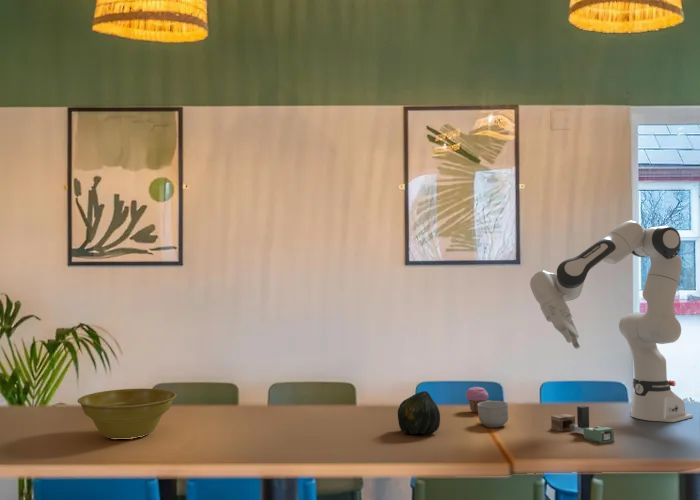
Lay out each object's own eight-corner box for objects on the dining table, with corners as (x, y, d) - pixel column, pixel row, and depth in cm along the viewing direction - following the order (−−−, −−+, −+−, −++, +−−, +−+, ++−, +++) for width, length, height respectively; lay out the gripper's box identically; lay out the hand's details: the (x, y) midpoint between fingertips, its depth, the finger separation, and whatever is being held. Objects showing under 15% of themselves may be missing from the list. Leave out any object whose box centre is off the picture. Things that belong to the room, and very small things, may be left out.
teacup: (509, 429, 222) (508, 406, 222) (477, 428, 224) (477, 405, 224) (507, 420, 235) (507, 399, 236) (477, 419, 237) (477, 398, 238)
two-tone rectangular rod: (576, 429, 218) (576, 403, 218) (610, 439, 204) (609, 412, 205) (570, 429, 217) (569, 404, 217) (603, 440, 203) (602, 412, 203)
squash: (382, 416, 220) (405, 386, 214) (409, 411, 231) (431, 382, 225) (406, 449, 212) (431, 419, 206) (432, 442, 223) (457, 414, 217)
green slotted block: (597, 436, 211) (597, 424, 211) (614, 441, 205) (613, 428, 205) (583, 438, 209) (583, 426, 209) (599, 443, 202) (599, 430, 203)
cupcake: (490, 414, 246) (490, 388, 247) (468, 414, 246) (467, 388, 247) (486, 409, 255) (485, 384, 255) (464, 409, 255) (464, 384, 256)
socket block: (567, 426, 225) (566, 413, 225) (575, 429, 221) (574, 416, 222) (551, 428, 222) (551, 415, 223) (559, 431, 219) (559, 418, 219)
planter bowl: (194, 434, 219) (194, 395, 220) (104, 454, 196) (105, 410, 196) (146, 420, 241) (147, 384, 242) (60, 436, 218) (61, 397, 218)
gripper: (555, 299, 222) (574, 333, 214) (571, 314, 237) (589, 347, 230) (539, 308, 224) (557, 342, 216) (556, 322, 239) (573, 355, 232)
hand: (574, 344), depth 223 cm, fingers open, 8 cm apart
